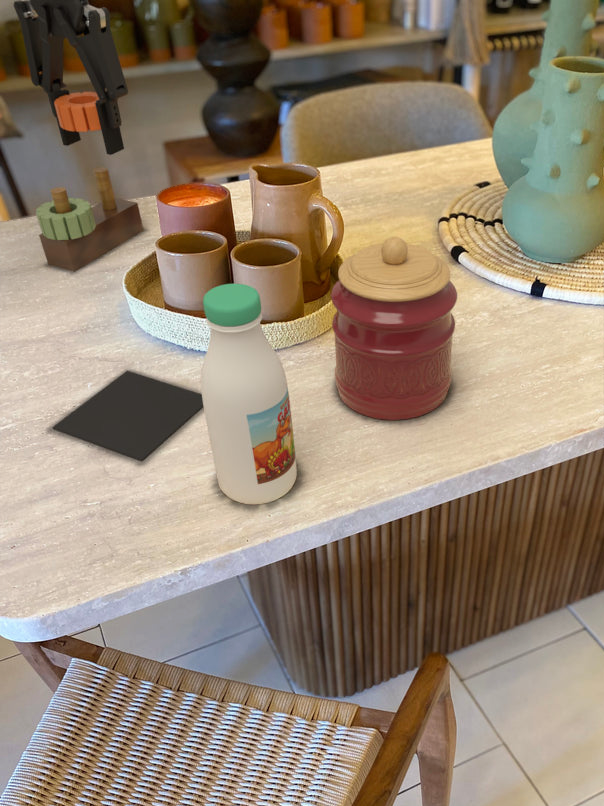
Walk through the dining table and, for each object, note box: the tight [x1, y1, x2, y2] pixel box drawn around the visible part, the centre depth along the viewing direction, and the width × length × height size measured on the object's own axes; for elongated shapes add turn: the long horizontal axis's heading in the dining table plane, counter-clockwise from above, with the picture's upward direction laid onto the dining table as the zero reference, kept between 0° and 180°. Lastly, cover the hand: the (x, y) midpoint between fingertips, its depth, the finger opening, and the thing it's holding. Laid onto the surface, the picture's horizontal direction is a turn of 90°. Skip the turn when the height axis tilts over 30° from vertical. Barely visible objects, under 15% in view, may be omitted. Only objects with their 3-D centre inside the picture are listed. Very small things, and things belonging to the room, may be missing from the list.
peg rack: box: [38, 166, 145, 272], centre depth 110 cm, size 15×5×10 cm, turn 153°
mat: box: [52, 370, 204, 462], centre depth 83 cm, size 12×12×1 cm
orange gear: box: [54, 91, 102, 133], centre depth 104 cm, size 7×7×3 cm
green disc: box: [35, 197, 96, 240], centre depth 107 cm, size 7×7×3 cm
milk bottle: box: [200, 283, 298, 505], centre depth 69 cm, size 8×8×20 cm
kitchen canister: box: [330, 236, 458, 421], centre depth 81 cm, size 13×13×18 cm
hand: (93, 146), depth 107 cm, fingers closed on orange gear, 7 cm apart
